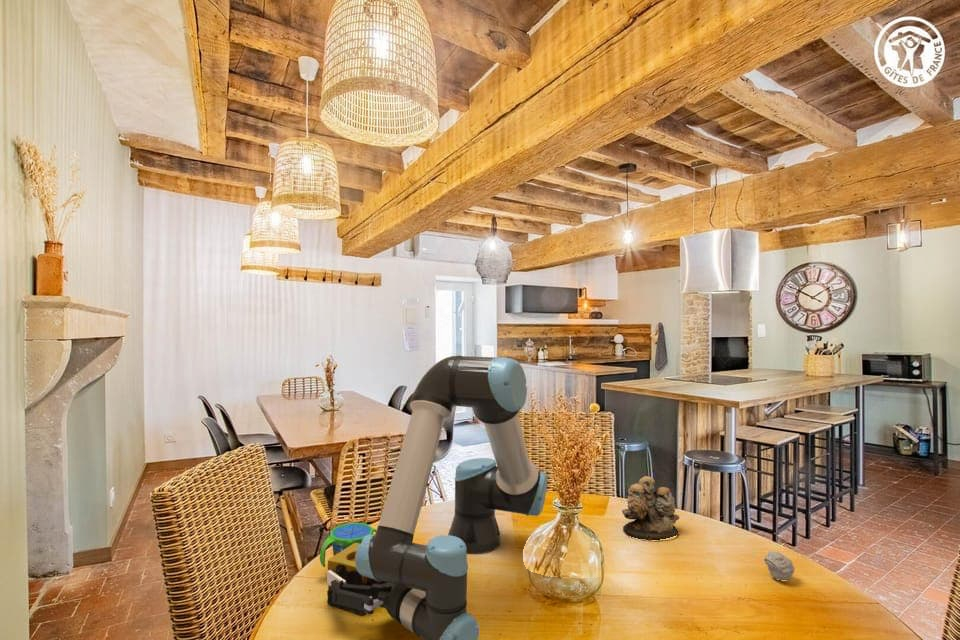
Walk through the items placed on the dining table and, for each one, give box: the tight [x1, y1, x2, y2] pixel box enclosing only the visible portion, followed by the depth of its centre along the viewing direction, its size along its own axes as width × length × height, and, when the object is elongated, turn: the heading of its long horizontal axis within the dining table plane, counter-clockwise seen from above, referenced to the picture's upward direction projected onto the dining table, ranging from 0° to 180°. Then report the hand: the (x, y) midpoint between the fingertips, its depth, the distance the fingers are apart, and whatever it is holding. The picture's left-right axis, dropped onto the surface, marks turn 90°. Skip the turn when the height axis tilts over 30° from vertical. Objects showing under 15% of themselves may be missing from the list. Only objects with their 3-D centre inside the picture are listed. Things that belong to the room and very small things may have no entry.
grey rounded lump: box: [763, 550, 795, 581], centre depth 119 cm, size 6×7×7 cm
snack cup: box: [319, 522, 377, 568], centre depth 120 cm, size 16×11×10 cm
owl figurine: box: [621, 475, 680, 541], centre depth 146 cm, size 18×12×17 cm, turn 101°
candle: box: [326, 543, 387, 615], centre depth 108 cm, size 10×10×10 cm
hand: (354, 566), depth 110 cm, fingers closed on candle, 12 cm apart
